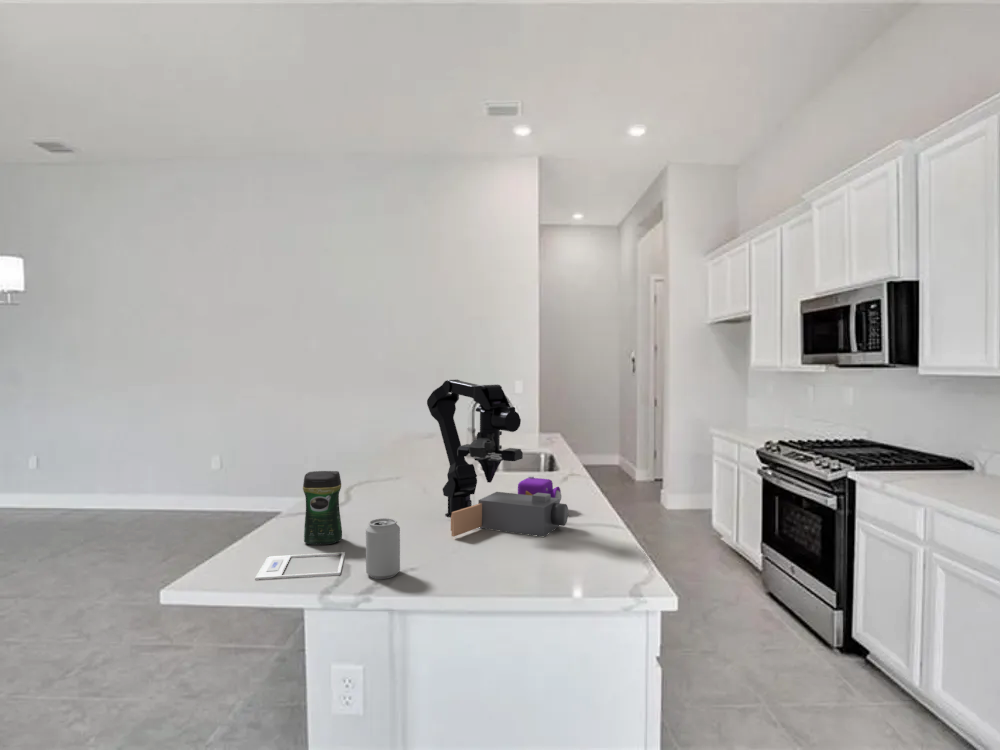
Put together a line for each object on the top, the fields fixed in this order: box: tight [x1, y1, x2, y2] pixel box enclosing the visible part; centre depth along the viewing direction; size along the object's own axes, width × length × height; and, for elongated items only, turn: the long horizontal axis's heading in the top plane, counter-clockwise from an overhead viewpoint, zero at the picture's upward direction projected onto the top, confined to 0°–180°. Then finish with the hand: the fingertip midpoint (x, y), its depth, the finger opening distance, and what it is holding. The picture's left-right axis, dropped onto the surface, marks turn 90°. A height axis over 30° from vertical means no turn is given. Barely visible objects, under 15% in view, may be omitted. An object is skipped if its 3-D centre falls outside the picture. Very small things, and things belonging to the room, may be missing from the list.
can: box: [365, 517, 401, 580], centre depth 137 cm, size 8×8×12 cm
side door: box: [450, 503, 482, 537], centre depth 168 cm, size 12×2×6 cm, turn 144°
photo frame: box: [254, 551, 346, 581], centre depth 142 cm, size 15×1×18 cm
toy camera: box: [517, 475, 562, 502], centre depth 194 cm, size 11×14×10 cm
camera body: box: [477, 491, 569, 537], centre depth 174 cm, size 23×12×10 cm, turn 64°
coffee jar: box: [302, 470, 343, 546], centre depth 161 cm, size 10×8×19 cm
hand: (489, 482), depth 176 cm, fingers closed
